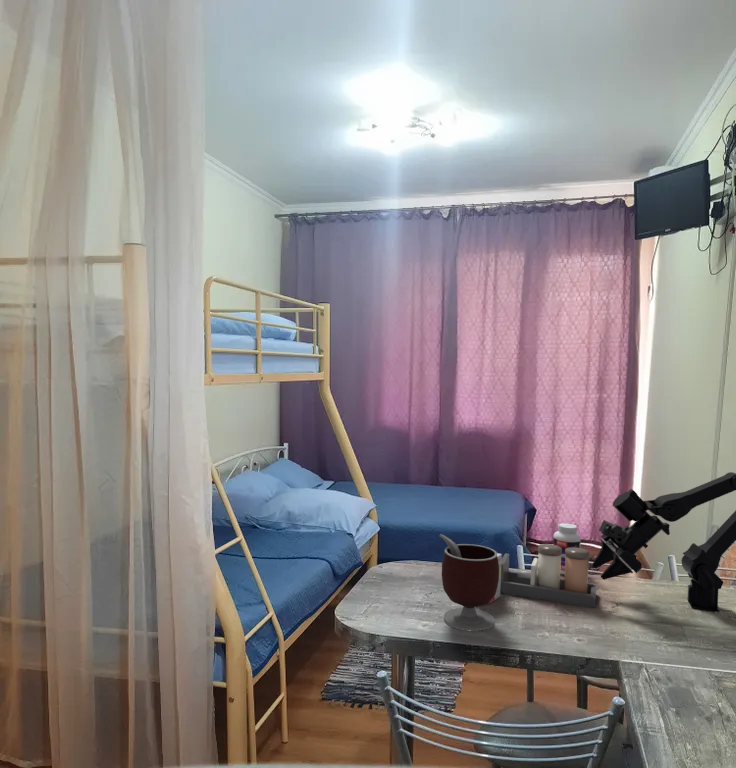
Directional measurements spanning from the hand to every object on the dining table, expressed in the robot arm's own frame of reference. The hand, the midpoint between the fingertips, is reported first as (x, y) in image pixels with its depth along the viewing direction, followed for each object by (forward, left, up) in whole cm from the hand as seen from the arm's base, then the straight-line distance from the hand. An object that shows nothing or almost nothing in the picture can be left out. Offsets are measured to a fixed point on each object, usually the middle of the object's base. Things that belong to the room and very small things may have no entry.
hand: (597, 572), depth 166 cm
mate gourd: (+29, +29, -8) cm, 42 cm away
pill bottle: (+9, -19, -8) cm, 23 cm away
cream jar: (+12, +2, -7) cm, 15 cm away
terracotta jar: (+5, +2, -7) cm, 9 cm away
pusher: (+18, +2, -7) cm, 20 cm away
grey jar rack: (+13, +2, -7) cm, 15 cm away
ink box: (+27, +13, -8) cm, 31 cm away
